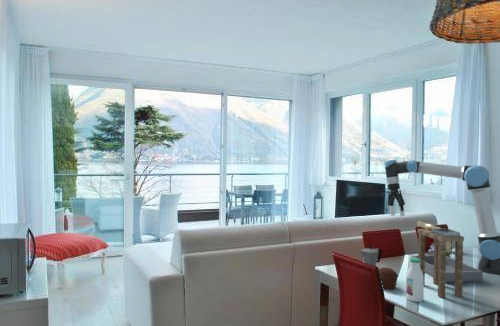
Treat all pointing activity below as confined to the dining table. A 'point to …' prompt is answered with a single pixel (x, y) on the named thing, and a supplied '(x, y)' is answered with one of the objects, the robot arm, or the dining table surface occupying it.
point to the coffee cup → (448, 246)
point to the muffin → (388, 278)
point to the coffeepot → (371, 255)
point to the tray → (453, 270)
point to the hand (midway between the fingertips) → (397, 215)
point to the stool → (442, 260)
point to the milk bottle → (414, 281)
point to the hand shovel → (439, 230)
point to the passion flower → (433, 250)
